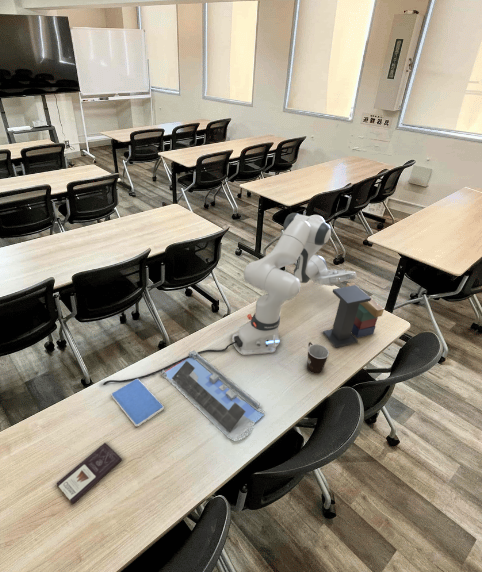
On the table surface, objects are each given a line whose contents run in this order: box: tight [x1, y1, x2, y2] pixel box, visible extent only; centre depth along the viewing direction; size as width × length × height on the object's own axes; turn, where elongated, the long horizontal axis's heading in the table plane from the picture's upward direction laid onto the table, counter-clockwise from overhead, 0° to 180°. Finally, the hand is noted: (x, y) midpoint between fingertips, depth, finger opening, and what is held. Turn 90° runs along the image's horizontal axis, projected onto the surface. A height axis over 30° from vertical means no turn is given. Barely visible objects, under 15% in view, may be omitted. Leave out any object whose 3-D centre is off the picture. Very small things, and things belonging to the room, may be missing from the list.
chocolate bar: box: [56, 442, 123, 505], centre depth 115 cm, size 9×1×18 cm
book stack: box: [351, 304, 379, 339], centre depth 175 cm, size 10×15×15 cm, turn 19°
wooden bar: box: [345, 282, 385, 318], centre depth 170 cm, size 4×23×4 cm, turn 19°
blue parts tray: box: [160, 350, 267, 442], centre depth 141 cm, size 18×45×6 cm, turn 44°
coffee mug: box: [306, 342, 330, 375], centre depth 154 cm, size 12×9×10 cm
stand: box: [322, 284, 372, 349], centre depth 165 cm, size 12×11×26 cm
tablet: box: [110, 379, 165, 428], centre depth 138 cm, size 19×13×1 cm, turn 43°
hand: (346, 278), depth 180 cm, fingers open, 8 cm apart
